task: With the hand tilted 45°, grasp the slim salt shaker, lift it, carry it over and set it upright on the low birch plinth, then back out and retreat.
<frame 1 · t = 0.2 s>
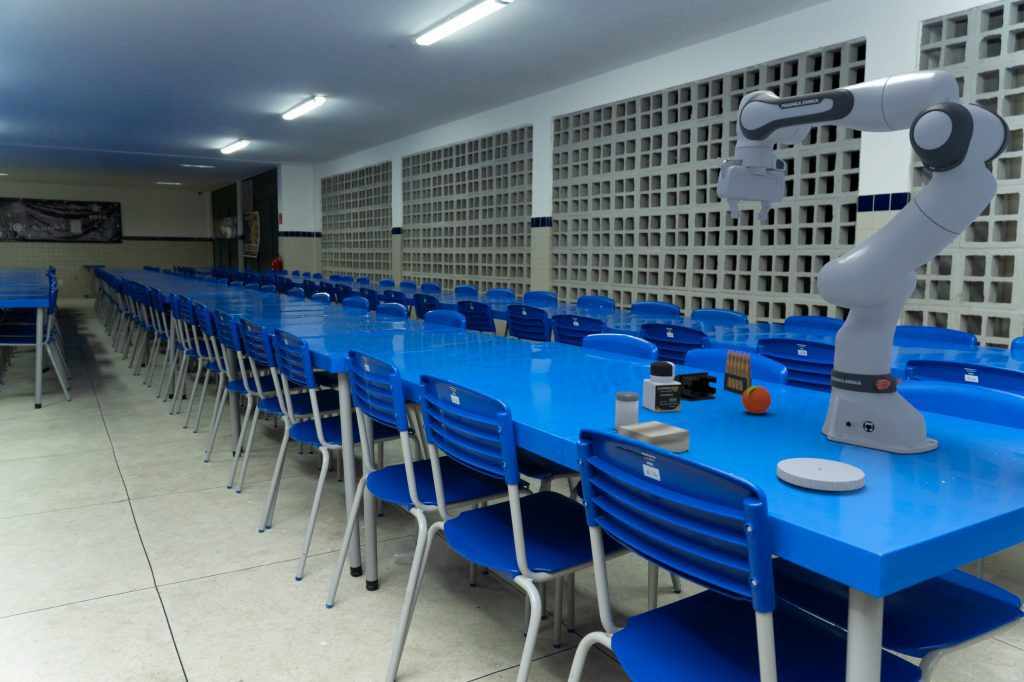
hand: (748, 219, 178), 48 cm above the table, tool pointing down, fingers open, 8 cm apart
plastic lid: (819, 484, 126), on the table
clementine: (754, 414, 179), on the table
salt shaker: (626, 429, 163), on the table
ammunition clip: (736, 393, 206), on the table
medicine bottle: (661, 409, 184), on the table
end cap: (694, 398, 199), on the table
plinth: (652, 448, 147), on the table
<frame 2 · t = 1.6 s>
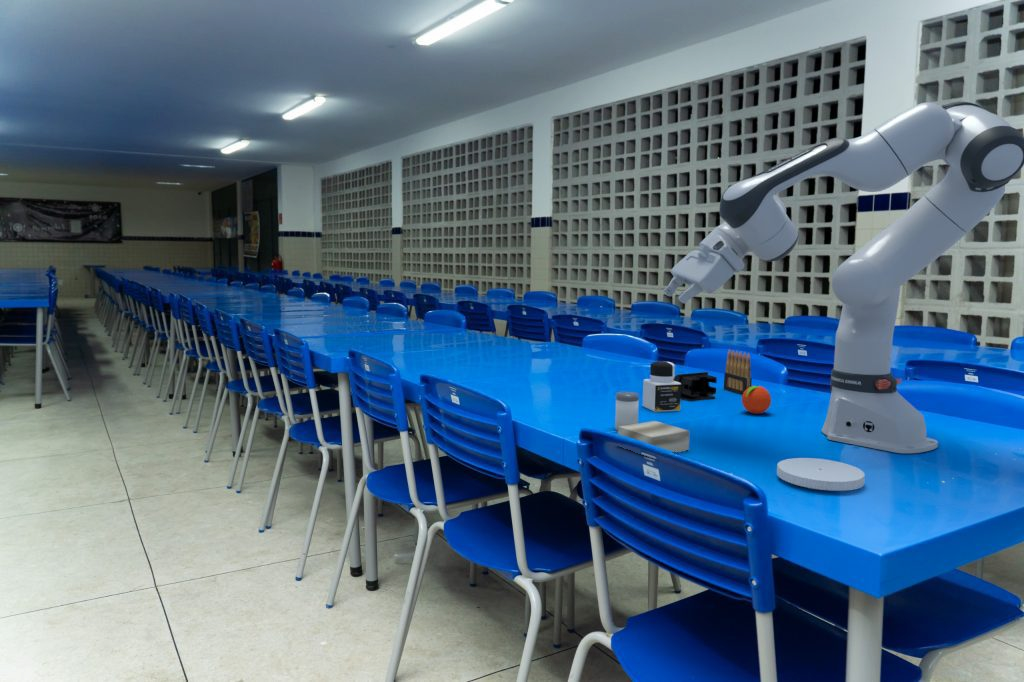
hand: (673, 297, 158), 30 cm above the table, tool tilted 45°, fingers open, 8 cm apart
nothing on the table moved.
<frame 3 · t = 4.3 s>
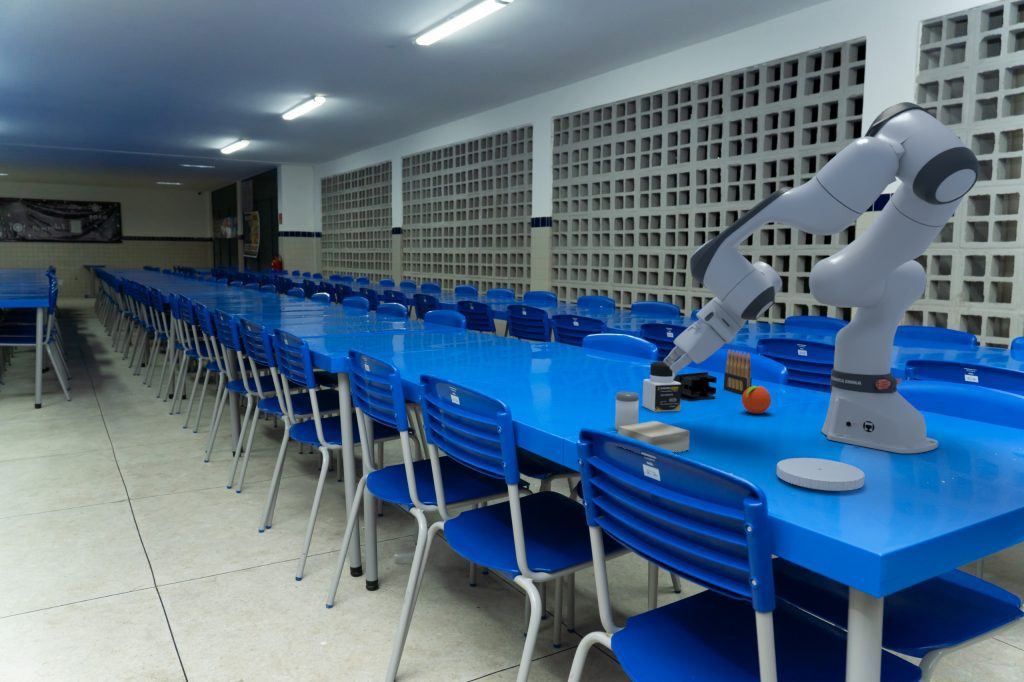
hand: (668, 367, 159), 14 cm above the table, tool tilted 45°, fingers open, 8 cm apart
nothing on the table moved.
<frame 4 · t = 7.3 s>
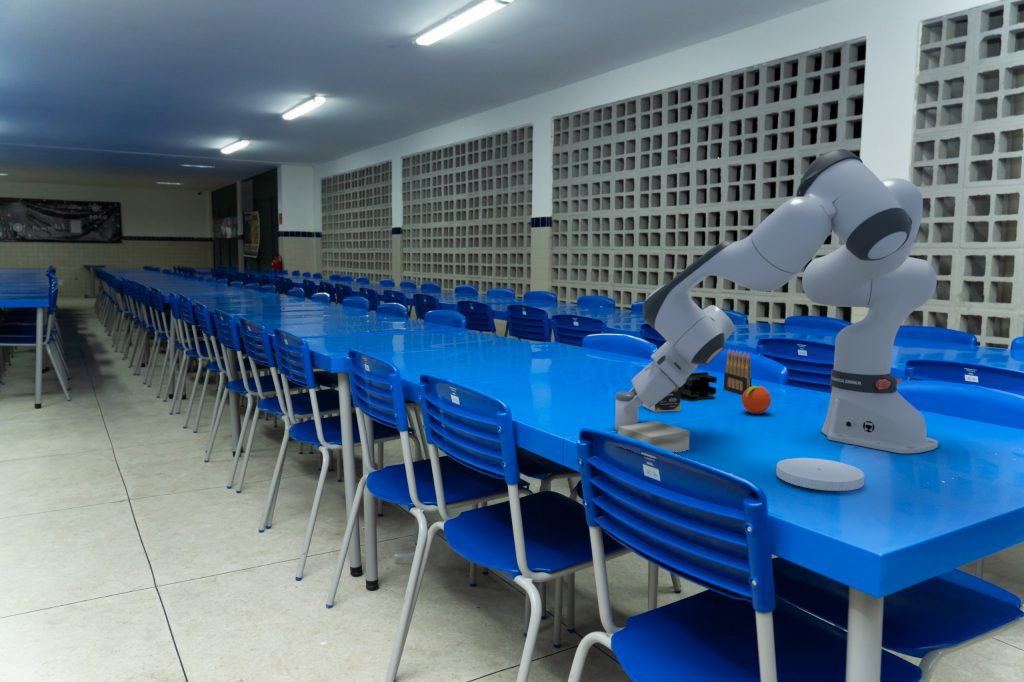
hand: (624, 408, 162), 5 cm above the table, tool tilted 45°, fingers closed on salt shaker, 5 cm apart
salt shaker: (626, 429, 163), on the table, touching gripper
everything else where it was.
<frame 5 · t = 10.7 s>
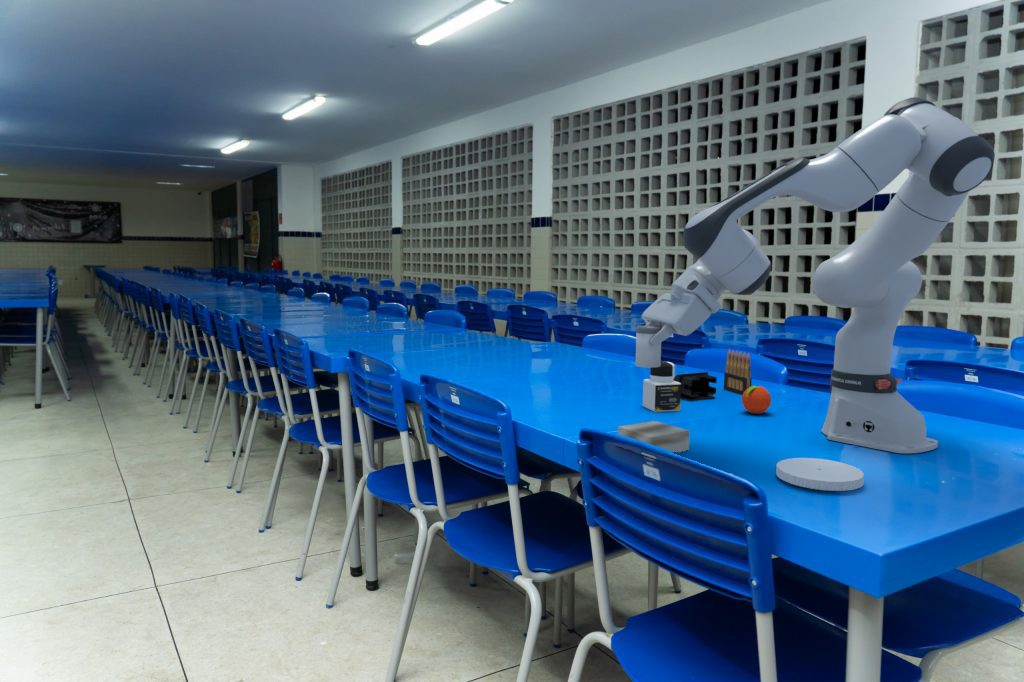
hand: (646, 342, 147), 21 cm above the table, tool tilted 45°, fingers closed on salt shaker, 5 cm apart
salt shaker: (648, 365, 148), point 16 cm above the table, touching gripper
everything else where it was.
when the fingers open (10 cm above the table, at t = 14.0 s): salt shaker drops 2 cm, resting on plinth.
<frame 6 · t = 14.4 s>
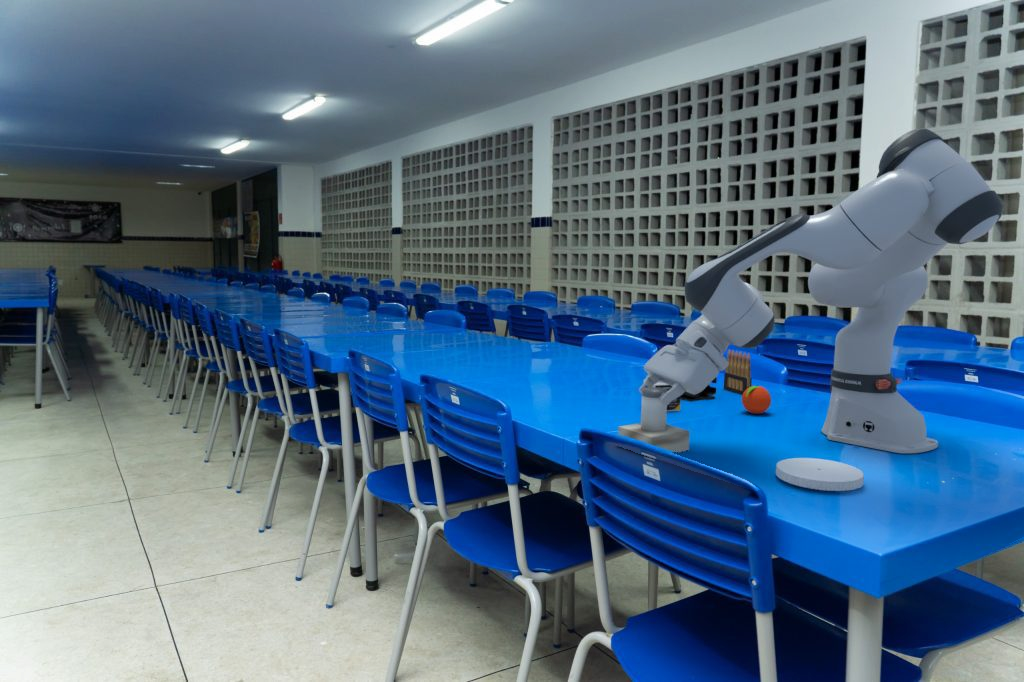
hand: (651, 397, 145), 10 cm above the table, tool tilted 45°, fingers open, 8 cm apart
salt shaker: (653, 428, 146), point 4 cm above the table, touching plinth
everything else where it was.
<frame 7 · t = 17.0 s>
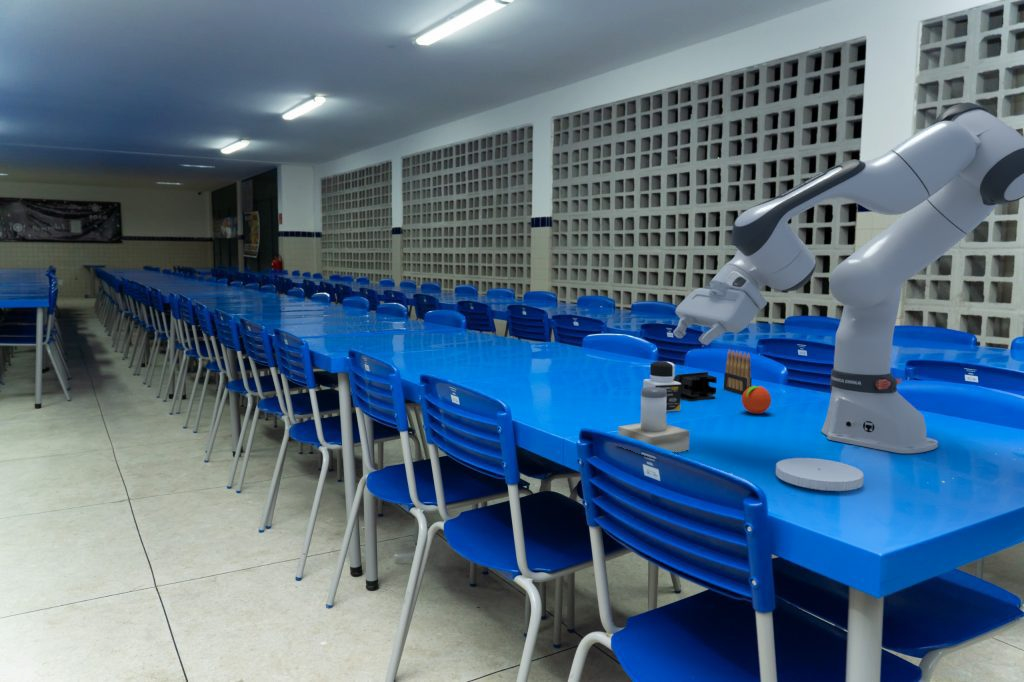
hand: (689, 339, 147), 22 cm above the table, tool tilted 45°, fingers open, 8 cm apart
nothing on the table moved.
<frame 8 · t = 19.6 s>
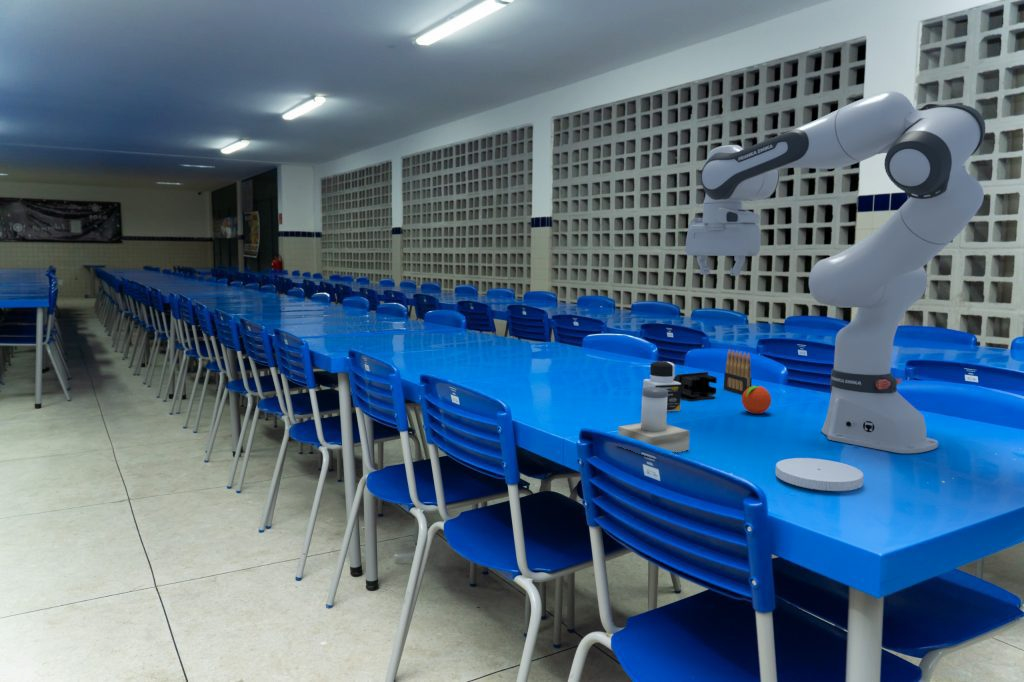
hand: (719, 275, 173), 34 cm above the table, tool pointing down, fingers open, 8 cm apart
nothing on the table moved.
at the end: salt shaker inside the target area on the plinth (0.1 cm from its centre), point 4.0 cm above the plinth's base; salt shaker tilted 1°; the gripper is holding nothing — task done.
